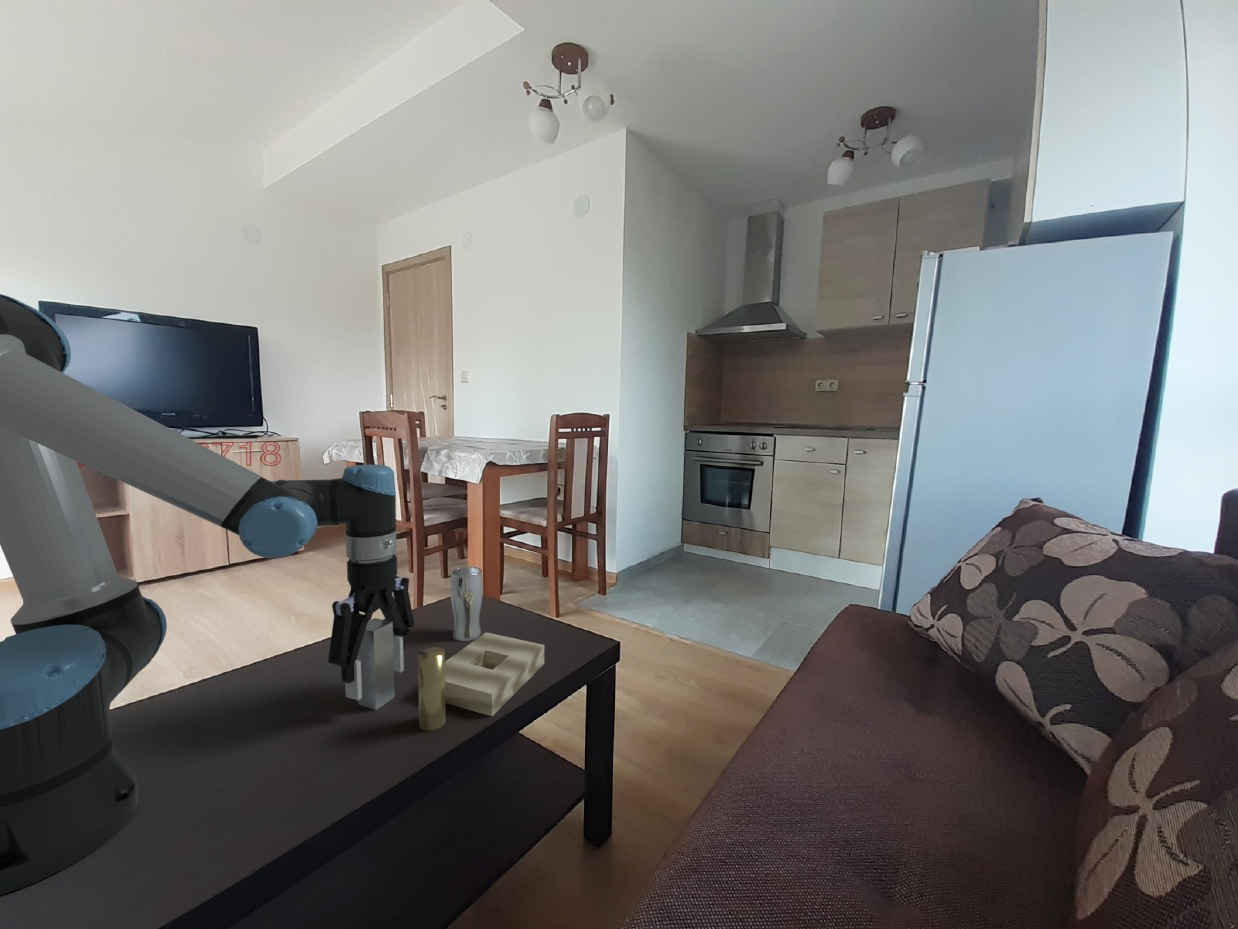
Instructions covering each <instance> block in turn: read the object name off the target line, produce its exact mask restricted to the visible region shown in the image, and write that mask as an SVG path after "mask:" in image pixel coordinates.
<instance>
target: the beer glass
mask: <svg viewBox="0 0 1238 929" xmlns="http://www.w3.org/2000/svg"><path fill="white" fill-rule="evenodd" d="M449 591H450V600H451V607H452V611H453V612H452V613H453V617H454V628H453V632H452V633H453V634H452V637H453V639H454V641H455V640H456V641H459V642H470V641H475V640H476V639H478V638H479V637H480V636H482V630H481V624H480V613H481V608H482V602H483V596H484V595H483V594H484V582H483V569H482V568H480V567H477V566H462V567H461V566H460V567H458V568H455V569H453V570H451V573H450V590H449Z"/></svg>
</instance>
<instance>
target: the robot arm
mask: <svg viewBox="0 0 1238 929" xmlns="http://www.w3.org/2000/svg"><path fill="white" fill-rule="evenodd" d="M71 359H72V352H71V346H70V343H69V340H68V338H67V336H66V335H65V333H64V331H63V330H62V329H61V327H60V326H59V325H58V324H57V323H56V322H55V321H54V320H52V319H51V318H50V316H48V315H46V314H44V313H43V312H41V311H40V310H39V309H37V308H34V307H32V306H30V305H28V304H26V303H24V302H22V301H20V300H19V299H16V298H14V297H11V296H8V295H6V294H2V293H0V548H1V550H2V553H3V555H4V558H5V560H6V562H7V564H8V567H9V569H10V572H11V574H12V577H13V579H14V582H15V584H16V586H17V587H16V588H17V589H18V591H19V594H20V597H21V599H22V604H21V606H20V607H19V609H18V610H16V612H15V613H14V615H13V616H12V617H11V618H10V624H11V625H12V628H13V631H14V633H15V634H12V635H9V636H6V637H5V638H4V640H2V641H0V896H2V895H5V894H8V893H11V892H13V891H14V892H15V891H18V890H19V889H22V888H25V887H27V886H30V885H33V884H34V883H37V882H40V881H41V880H43V879H46V878H48V877H50V876H53V875H54V874H56V873H58V872H60V871H62V870H64V869H66V868H67V867H69V866H71V865H73V864H74V863H77V862H78V861H80V860H81V859H83V858H84V857H86V856H87V855H89V854H91V853H92V852H93V851H95V850H97V849H98V848H99V847H101V846H102V845H103V844H104V843H106V842H107V841H109V840H110V839H111V838H113V836H114V835H116V834H117V833H118V832H119V831H120V830H121V829H122V828H123V827H124V826H125V825H126V824H127V823H128V822H129V820H130V819H131V818H132V816H133V815H134V814H135V811H136V810H137V808H138V805H139V801H140V800H139V789H138V788H139V786H138V782H137V779H136V777H135V776H134V774H133V773H132V772H131V770H130V769H129V767H128V766H127V764H126V763H125V762H124V761H123V760H122V758H121V757H120V755H119V754H118V752H117V751H116V750H115V748H114V743H113V733H112V731H113V730H112V720H111V709H110V708H111V704H112V702H113V701H114V699H116V697H117V696H118V695H119V694H120V693H121V692H122V691H124V689H125V688H126V687H127V686H128V685H129V684H130V683H131V682H132V681H133V679H134V678H135V677H136V676H137V675H138V674H139V673H140V672H141V671H142V670H143V669H145V668H146V667H147V666H148V665H149V664H150V662H152V660H153V658H155V656H156V654H157V653H158V652H159V650H160V648H161V647H162V644H163V642H164V640H165V637H166V635H167V627H168V625H167V616H166V615H165V613H164V611H163V609H162V608H161V606H160V605H159V604H158V603H156V602H155V601H154V600H153V599H151V598H148V597H147V598H146V597H145V596H143V595H142V592H141V591H140V587H139V585H138V582H137V581H136V580H134V579H131V578H127V577H124V576H121V575H120V574H118V572H117V569H116V566H115V563H114V561H113V558H112V555H111V553H110V550H109V547H108V545H107V544H108V543H107V542H106V541H107V540H106V539H105V536H104V533H103V530H102V528H101V526H100V523H99V520H98V517H97V515H96V511H95V509H94V506H93V503H92V500H91V498H90V496H89V493H88V490H87V487H86V485H85V482H84V479H83V476H82V474H81V470H80V469H79V466H78V463H80V464H81V465H84V466H85V467H86V466H87V467H89V468H91V469H92V470H96V471H97V472H99V473H102V474H103V475H106V476H108V477H111V478H113V479H115V480H117V481H120V482H122V483H124V484H126V485H128V486H130V487H133V488H134V489H137V490H139V491H141V492H144V493H145V494H149V495H150V496H152V497H155V498H157V499H159V500H161V501H163V502H165V503H168V504H170V505H171V506H174V507H176V508H179V509H181V510H183V511H185V512H187V513H189V514H192V515H194V516H197V517H198V518H201V519H203V520H206V521H207V522H210V523H212V524H214V525H216V526H218V527H221V528H223V529H225V530H227V531H229V532H231V533H233V534H235V535H237V536H238V537H239V540H240V542H241V543H242V545H243V546H244V547H245V549H247V550H248V551H249V552H250V553H252V554H254V555H256V556H258V557H261V558H265V559H266V558H267V559H279V558H280V559H281V558H285V557H288V556H291V555H294V554H296V552H298V551H300V550H301V549H302V548H303V547H304V546H305V545H306V544H307V543H309V542H310V541H311V540H312V538H313V537H314V535H315V532H316V530H317V528H318V527H329V526H341V525H344V526H345V547H346V548H345V551H346V553H345V555H346V558H348V560H347V561H346V572H347V574H346V577H347V582H348V583H349V586H350V590H349V592H348V593H349V594H348V597H346V598H344V599H343V600H341V601H339V600H336V601H333V603H332V605H331V608H332V613H333V622H332V623H333V624H332V629H331V637H330V643H329V644H330V645H329V653H328V660H327V661H328V663H329V664H331V665H335V666H338V667H339V666H340V670H341V671H340V672H341V676H340V677H341V681H342V682H343V683H345V684H344V685H345V686H344V687H345V690H344V691H345V698H348V699H352V700H354V701H358V700H360V699H361V698H362V686H361V661H360V660H357V655H358V652H359V649H360V646H361V642H362V639H363V636H364V633H365V629H366V626H367V623H368V621H370V620H372V619H373V618H372V617H373V614H374V613H375V612H377V611H378V610H380V611H381V614H382V615H383V617H384V620H387V621H391V622H393V655H394V672H397V673H403V672H404V670H405V668H404V667H405V666H404V664H405V663H404V661H405V660H404V651H405V650H406V637H407V636H409V635H410V633H411V629H410V628H413V627H414V625H415V620H414V615H413V614H414V613H413V609H412V603H411V597H410V593H409V585H410V584H409V583H410V579H409V578H408V577H403V576H398V556H397V555H396V553H397V507H396V506H397V502H396V499H397V498H396V497H397V496H396V482H395V480H396V479H395V471H394V470H393V469H392V467H390V466H388V465H384V464H357V465H356V464H355V465H350V466H347V467H345V468H344V470H343V474H342V477H341V478H339V477H337V478H332V479H293V480H291V479H290V480H286V479H278V480H269V479H267V478H265V477H263V475H260V474H258V473H256V472H254V471H252V470H250V469H248V468H246V467H244V466H243V465H241V464H239V463H237V462H235V461H233V460H231V459H229V458H227V457H225V456H224V455H221V454H219V453H218V452H215V451H214V450H212V449H210V448H208V447H206V446H204V445H202V444H201V443H198V442H197V441H195V440H193V439H191V438H188V437H187V436H185V435H183V434H181V433H179V432H177V431H176V430H173V429H171V428H169V427H168V426H165V425H164V424H162V423H159V422H158V421H156V420H154V419H152V418H151V417H148V416H146V415H144V414H142V413H141V412H140V411H137V410H135V409H133V408H131V407H129V406H127V405H125V404H124V403H122V402H119V401H118V400H116V399H114V398H112V397H110V396H108V395H107V394H104V393H102V392H100V391H98V390H96V389H95V388H93V387H90V386H89V385H87V384H84V383H83V382H82V381H79V380H77V379H75V378H74V377H71V376H69V375H68V374H65V371H66V369H67V368H68V367H69V366H70V363H71ZM77 462H78V463H77ZM363 613H364V614H363Z"/></svg>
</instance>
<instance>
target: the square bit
mask: <svg viewBox="0 0 1238 929" xmlns="http://www.w3.org/2000/svg"><path fill="white" fill-rule="evenodd" d="M393 634H394V633H393V622H391V621H387V620H386V619H382V618H378V617H374V618H371V620H369V621H368V623H367V626H366V629H365V633H364V636H363V639H362V642H361V646H360V649H359V652H358V655H357V658H356V660H360V661H361V686H362V698H361V699H360V700H357V702H358V703H357V704H358V706H362V707H365V708H368V709H371V710H374V711H377V710H379V709H380V708H381V707H383V706H384V705H386V704H387V703H389V702H390V701H391V700H393V699H394V698H395V696H396V695H395V671H394V655H393Z"/></svg>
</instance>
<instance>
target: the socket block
mask: <svg viewBox="0 0 1238 929" xmlns="http://www.w3.org/2000/svg"><path fill="white" fill-rule="evenodd" d="M544 665H545V644H540V643H538V642H532V641H527V640H522V639H519V638H513V637H509V636H504V635H501V634H495V633H492V632H485V633H483V634H481V635H480V636H479V637H478V638H476V639H474V640H472V642H470V643H469V644H468V645H466V646H465V647H464V648H462V649H461V650H459V651H458V652H457V653H455V654H454V655H452V656H451V657H450V658H448V659H446V660H445V704H448V705H452V706H454V707H457V708H462V709H465V710H468V711H473V712H476V713H479V714H483V715H486V716H489V717H493V716H494V715H495V714H497V712H498V711H499V710H501V708H502V707H503V706H504V705H505V704H506V703H507V702H508V701H509V700H510V699H511V698H513V696H514V695H515V694H516V693H517V692H518V691H519V690H520V689H521V688H522V687H524V685H525V684H526V683H527V682H528V681H529V680H530V679H531V678H532V677H533V676H534V675H535V674H536V673H537V672H538V671H539V669H540V668H542V667H543V666H544Z"/></svg>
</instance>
